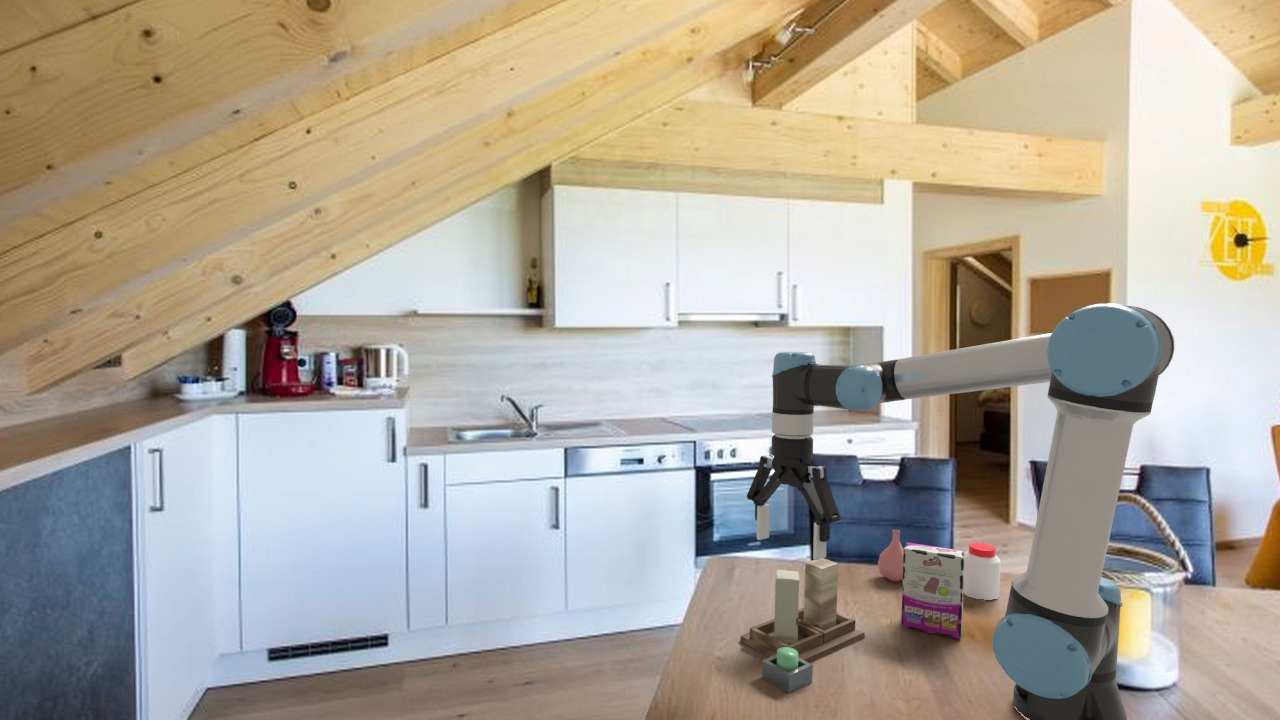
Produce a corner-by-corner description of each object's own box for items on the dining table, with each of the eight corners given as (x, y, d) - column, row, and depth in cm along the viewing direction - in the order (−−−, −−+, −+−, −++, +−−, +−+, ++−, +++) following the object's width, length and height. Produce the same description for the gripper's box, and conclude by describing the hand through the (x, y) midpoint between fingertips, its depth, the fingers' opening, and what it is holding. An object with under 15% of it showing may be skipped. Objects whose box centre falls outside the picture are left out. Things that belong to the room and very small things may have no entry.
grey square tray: (812, 681, 115) (812, 664, 115) (788, 693, 111) (789, 675, 111) (784, 667, 119) (785, 650, 119) (761, 677, 116) (762, 660, 116)
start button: (802, 676, 115) (802, 653, 115) (788, 682, 113) (788, 659, 112) (785, 667, 118) (786, 645, 118) (771, 673, 116) (772, 651, 115)
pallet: (864, 637, 131) (867, 567, 130) (793, 669, 119) (796, 592, 118) (810, 613, 142) (813, 548, 141) (740, 640, 129) (742, 569, 128)
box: (797, 649, 124) (799, 580, 123) (773, 646, 125) (775, 578, 124) (797, 636, 129) (799, 570, 128) (774, 633, 130) (776, 568, 129)
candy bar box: (962, 630, 135) (966, 550, 134) (961, 640, 131) (965, 557, 130) (902, 617, 140) (906, 540, 139) (900, 627, 136) (903, 547, 135)
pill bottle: (953, 590, 155) (955, 543, 155) (976, 584, 159) (979, 539, 158) (983, 603, 148) (985, 554, 148) (1006, 597, 152) (1009, 549, 151)
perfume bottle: (879, 584, 158) (881, 534, 157) (875, 572, 165) (877, 524, 165) (914, 587, 156) (916, 537, 156) (908, 575, 164) (910, 527, 163)
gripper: (862, 443, 117) (859, 562, 118) (756, 425, 137) (754, 527, 138) (835, 447, 112) (832, 572, 114) (730, 428, 132) (728, 534, 133)
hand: (790, 548), depth 126 cm, fingers open, 13 cm apart
